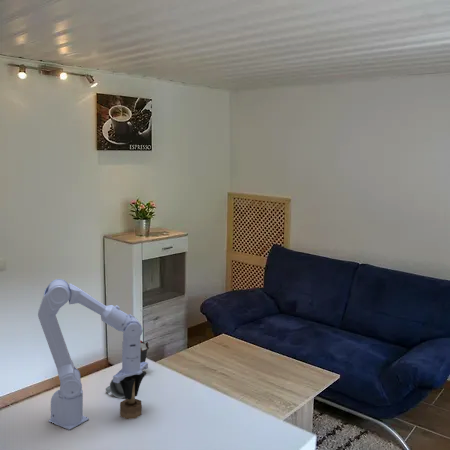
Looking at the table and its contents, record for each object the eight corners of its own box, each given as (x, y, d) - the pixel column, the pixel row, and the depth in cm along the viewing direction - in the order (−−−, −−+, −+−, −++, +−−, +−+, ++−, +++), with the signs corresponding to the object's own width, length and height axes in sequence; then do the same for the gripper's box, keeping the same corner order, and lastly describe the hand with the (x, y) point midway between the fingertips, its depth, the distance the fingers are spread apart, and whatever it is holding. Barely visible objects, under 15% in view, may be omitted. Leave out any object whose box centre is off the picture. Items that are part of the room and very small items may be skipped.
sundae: (128, 376, 185) (129, 338, 184) (134, 369, 191) (135, 332, 190) (145, 377, 184) (145, 339, 183) (150, 371, 190) (151, 334, 189)
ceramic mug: (139, 389, 173) (139, 369, 172) (129, 399, 165) (129, 377, 164) (111, 387, 175) (111, 366, 175) (101, 396, 167) (101, 375, 167)
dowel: (126, 402, 154) (126, 380, 154) (131, 400, 156) (131, 377, 155) (131, 404, 153) (131, 381, 152) (136, 402, 155) (136, 379, 154)
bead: (115, 415, 154) (115, 404, 153) (129, 407, 159) (129, 397, 159) (131, 420, 150) (131, 409, 150) (145, 412, 156) (145, 402, 156)
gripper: (125, 365, 145) (125, 408, 146) (155, 351, 158) (155, 391, 159) (108, 360, 149) (107, 403, 150) (138, 347, 161) (138, 386, 162)
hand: (131, 397), depth 154 cm, fingers closed on dowel, 2 cm apart
